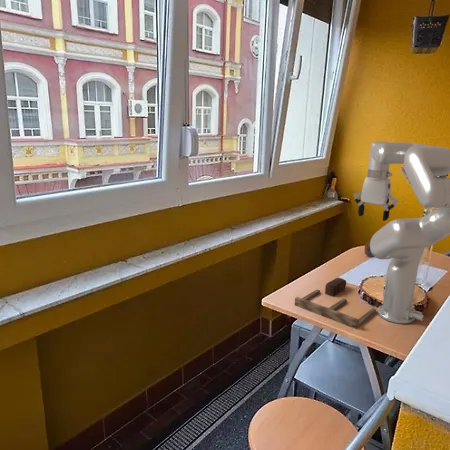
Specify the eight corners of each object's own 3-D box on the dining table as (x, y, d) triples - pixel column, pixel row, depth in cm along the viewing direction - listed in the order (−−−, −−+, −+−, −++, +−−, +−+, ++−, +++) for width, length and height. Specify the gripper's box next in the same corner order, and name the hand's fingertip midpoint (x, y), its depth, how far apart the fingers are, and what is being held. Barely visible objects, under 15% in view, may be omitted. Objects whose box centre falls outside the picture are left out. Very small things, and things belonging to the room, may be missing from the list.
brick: (333, 297, 158) (334, 286, 157) (324, 294, 161) (325, 283, 160) (346, 289, 166) (347, 278, 164) (337, 286, 168) (338, 276, 167)
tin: (367, 258, 201) (369, 242, 198) (362, 256, 203) (364, 240, 201) (387, 253, 208) (389, 238, 206) (382, 252, 210) (384, 236, 208)
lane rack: (375, 312, 146) (376, 305, 145) (356, 328, 135) (356, 320, 134) (316, 292, 162) (317, 285, 161) (294, 305, 151) (295, 297, 150)
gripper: (404, 176, 150) (398, 220, 155) (360, 171, 161) (356, 212, 166) (397, 178, 145) (391, 223, 150) (352, 173, 156) (347, 215, 161)
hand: (372, 217), depth 158 cm, fingers open, 9 cm apart
